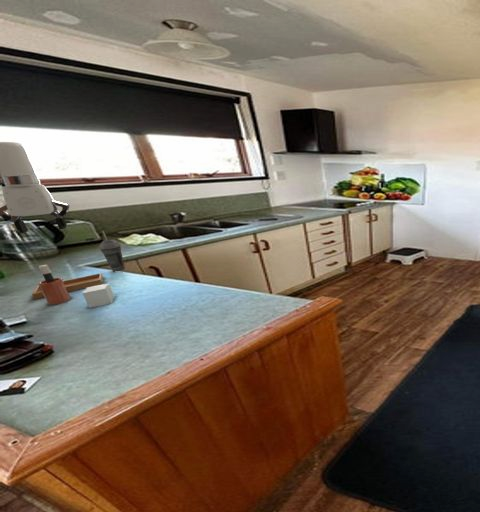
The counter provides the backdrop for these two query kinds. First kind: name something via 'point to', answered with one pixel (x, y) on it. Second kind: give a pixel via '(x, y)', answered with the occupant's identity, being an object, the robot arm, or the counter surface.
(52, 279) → the marker
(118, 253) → the beverage cup
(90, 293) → the white cube
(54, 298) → the cup
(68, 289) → the pen tray
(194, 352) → the counter surface
